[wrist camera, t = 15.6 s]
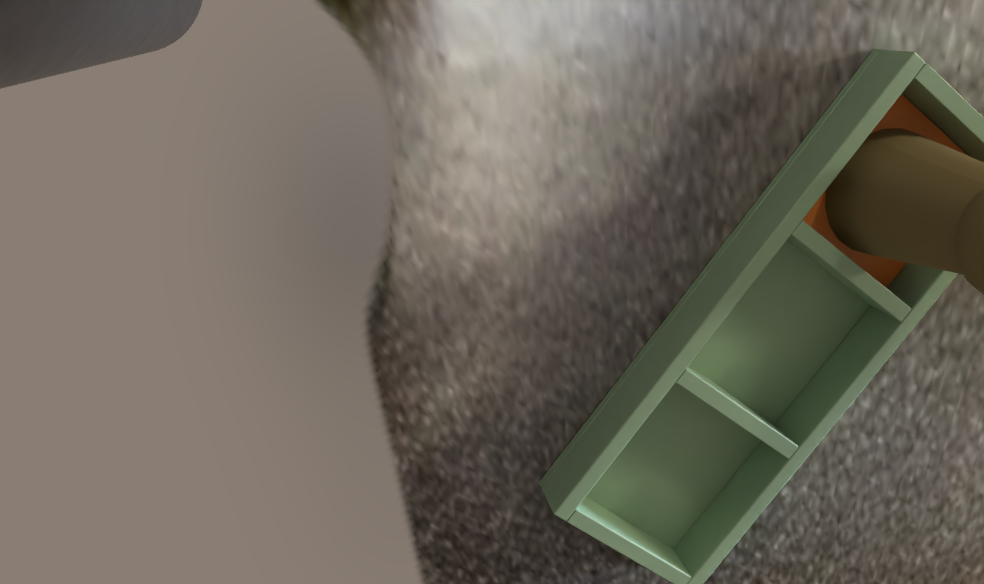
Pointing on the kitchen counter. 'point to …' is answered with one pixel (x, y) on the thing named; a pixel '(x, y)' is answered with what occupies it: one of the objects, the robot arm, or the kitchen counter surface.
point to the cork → (911, 203)
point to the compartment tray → (758, 347)
